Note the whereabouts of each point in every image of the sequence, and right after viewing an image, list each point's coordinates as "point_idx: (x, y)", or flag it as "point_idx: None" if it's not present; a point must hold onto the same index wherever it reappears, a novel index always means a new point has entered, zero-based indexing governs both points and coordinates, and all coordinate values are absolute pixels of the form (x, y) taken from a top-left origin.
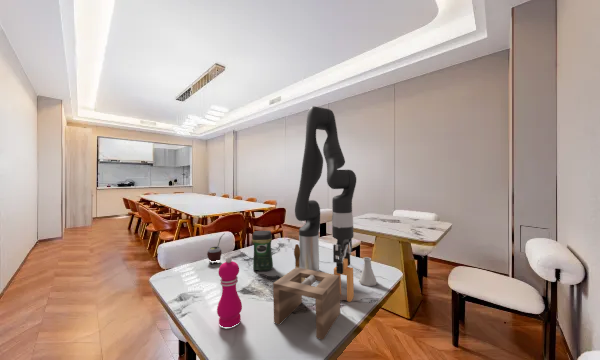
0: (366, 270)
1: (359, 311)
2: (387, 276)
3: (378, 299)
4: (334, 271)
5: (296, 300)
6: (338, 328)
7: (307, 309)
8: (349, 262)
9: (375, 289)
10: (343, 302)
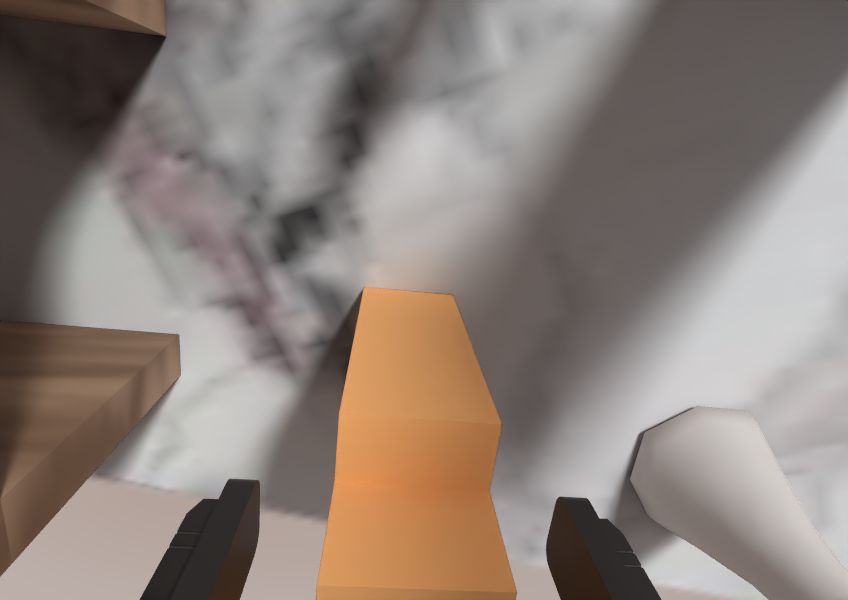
0: (736, 542)
1: (261, 473)
2: None
3: None
4: (342, 404)
5: (7, 5)
6: None
7: (93, 130)
8: (560, 589)
9: None
10: (327, 363)
